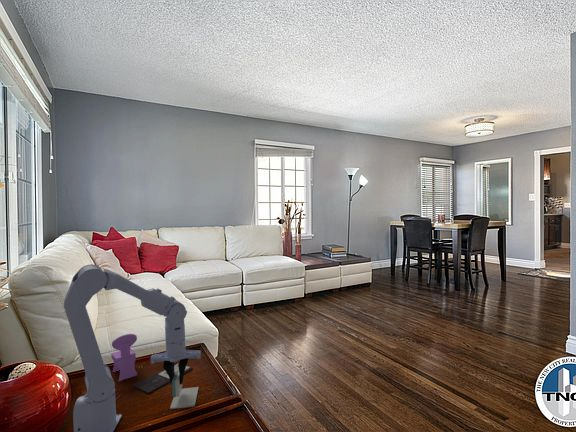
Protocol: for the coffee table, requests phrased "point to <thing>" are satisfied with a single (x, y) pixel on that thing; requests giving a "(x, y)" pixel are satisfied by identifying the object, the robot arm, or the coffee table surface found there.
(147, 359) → the coffee table surface
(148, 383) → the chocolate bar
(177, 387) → the tile
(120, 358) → the toy chair
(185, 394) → the mat
